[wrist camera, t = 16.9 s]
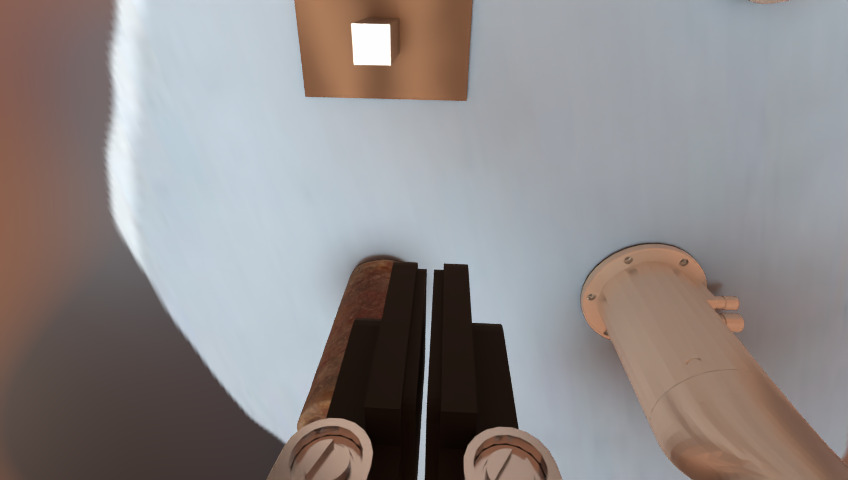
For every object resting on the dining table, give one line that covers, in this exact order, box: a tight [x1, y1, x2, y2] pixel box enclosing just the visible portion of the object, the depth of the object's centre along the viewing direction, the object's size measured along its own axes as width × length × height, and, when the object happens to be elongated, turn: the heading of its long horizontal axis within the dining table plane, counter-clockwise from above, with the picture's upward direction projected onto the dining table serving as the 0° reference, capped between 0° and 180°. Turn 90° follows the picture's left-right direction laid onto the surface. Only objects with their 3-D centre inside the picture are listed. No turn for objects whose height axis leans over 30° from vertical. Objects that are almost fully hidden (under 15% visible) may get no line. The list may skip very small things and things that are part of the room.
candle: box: [297, 260, 397, 431], centre depth 41 cm, size 8×7×20 cm
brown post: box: [351, 17, 400, 66], centre depth 33 cm, size 3×3×6 cm
